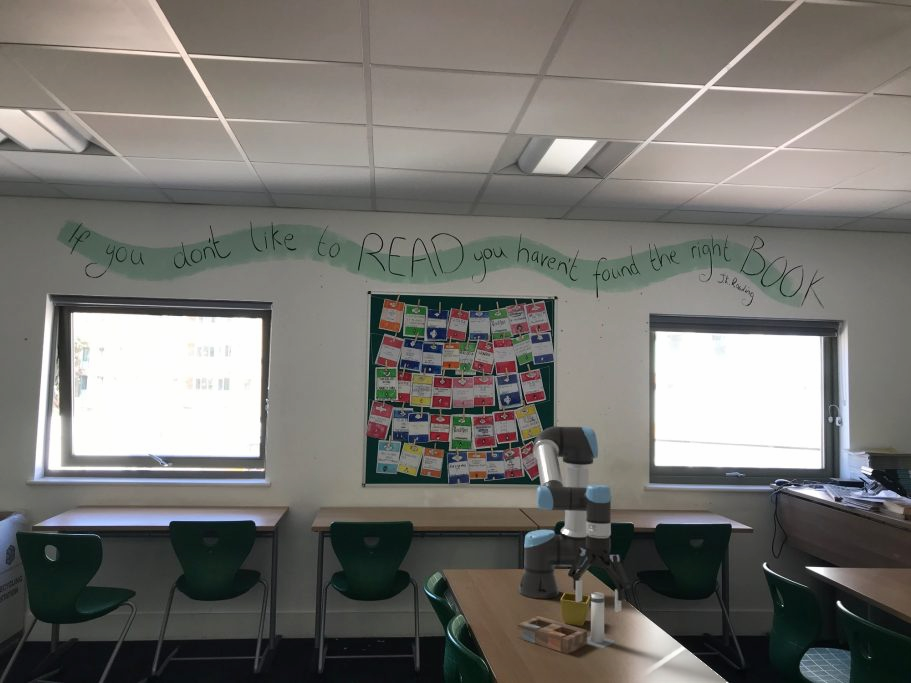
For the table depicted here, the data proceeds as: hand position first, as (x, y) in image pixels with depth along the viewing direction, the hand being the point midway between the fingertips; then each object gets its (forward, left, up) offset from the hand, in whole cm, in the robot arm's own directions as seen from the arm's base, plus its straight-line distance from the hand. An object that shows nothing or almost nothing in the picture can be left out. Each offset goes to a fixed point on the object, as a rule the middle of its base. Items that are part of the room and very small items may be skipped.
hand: (597, 606), depth 201 cm
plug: (0, 0, -11) cm, 11 cm away
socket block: (+10, -10, -12) cm, 18 cm away
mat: (0, 0, -12) cm, 12 cm away
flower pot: (-10, -14, -12) cm, 21 cm away
